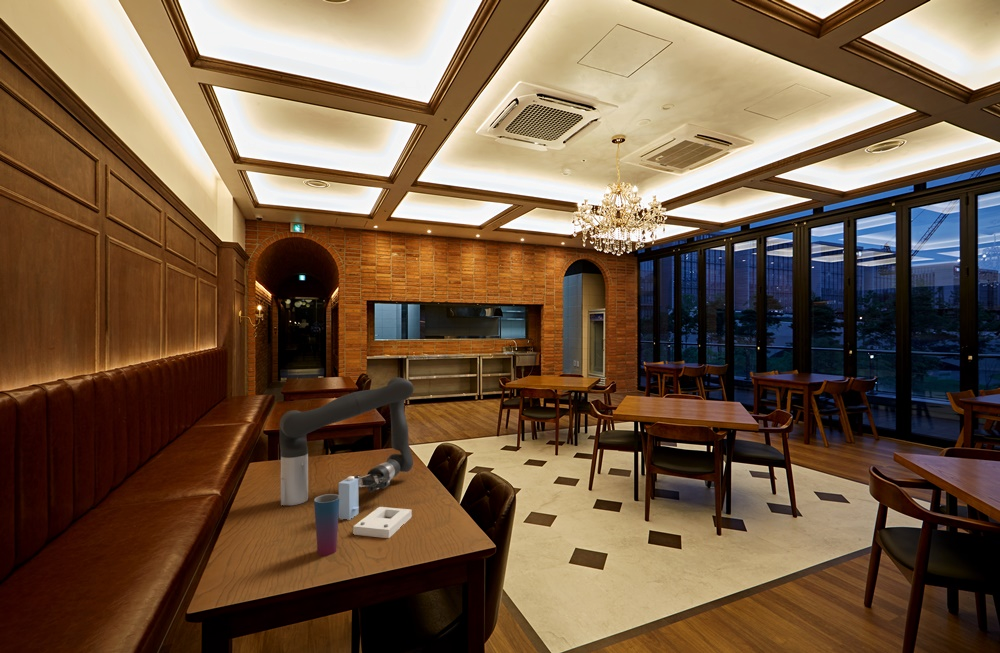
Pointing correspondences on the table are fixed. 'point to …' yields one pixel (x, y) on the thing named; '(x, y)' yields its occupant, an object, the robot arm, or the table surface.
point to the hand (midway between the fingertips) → (358, 488)
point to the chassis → (382, 522)
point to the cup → (326, 523)
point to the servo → (348, 498)
